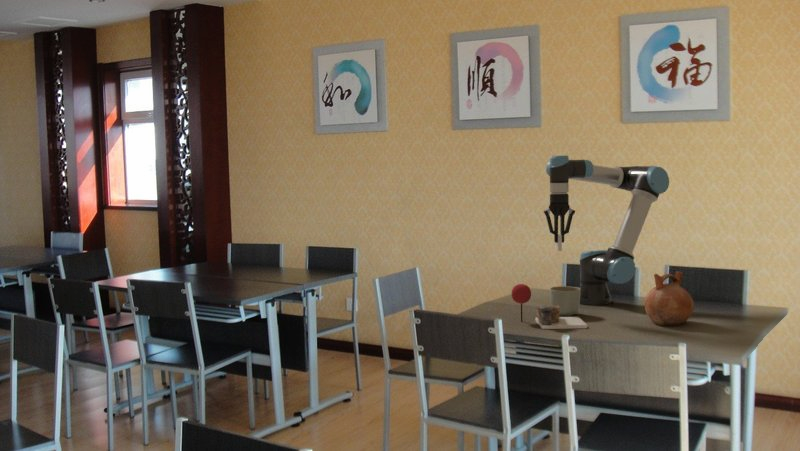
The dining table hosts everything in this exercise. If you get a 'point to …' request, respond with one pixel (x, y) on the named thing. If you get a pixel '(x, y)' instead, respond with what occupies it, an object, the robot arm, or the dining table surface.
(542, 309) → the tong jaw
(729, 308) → the dining table surface
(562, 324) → the board
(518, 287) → the lollipop
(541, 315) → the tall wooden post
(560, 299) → the planter
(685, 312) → the jug
